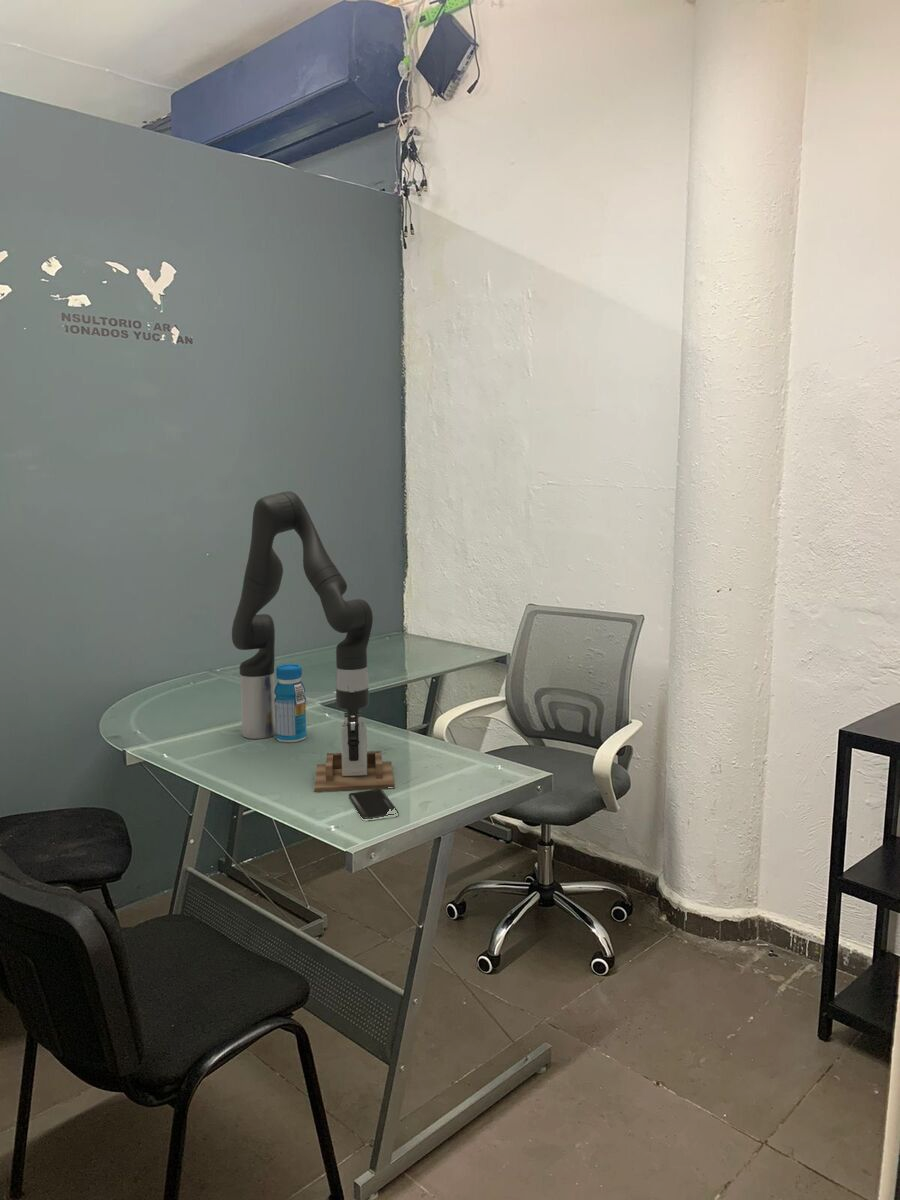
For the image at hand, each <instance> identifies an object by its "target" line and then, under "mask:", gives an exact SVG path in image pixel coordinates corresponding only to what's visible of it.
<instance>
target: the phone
mask: <svg viewBox="0 0 900 1200" xmlns="http://www.w3.org/2000/svg"><path fill="white" fill-rule="evenodd" d="M348 799H349V801H350V803H351V804H352V806H353V805H354V806H353V807H355V808H356V809H355V808H354V809H355V811H356V810H357V811H358V812H357V811H356V812H357V814H358V813H359V814H360V816H361V817H362V818H363V819H373V818H379V817H384V816H388V815H394V814H388V815H386V814H387V812H388V811H389V809H391V811H392V810H393V809H394V808H395V810H396V811H397V813H398V814H399V811H398V809H397V808H396V806H395V805H394V804H393V802H392V801H391V800H390V798H389V797H388V796H387V794H386V793H385V792H384V789H371V790H361V791H356V792H350V793H348ZM359 814H358V815H359ZM395 814H396V813H395ZM360 816H359V817H360ZM361 817H360V818H361Z"/></svg>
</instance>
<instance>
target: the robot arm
mask: <svg viewBox="0 0 900 1200" xmlns="http://www.w3.org/2000/svg"><path fill="white" fill-rule="evenodd" d="M251 526H252V527H251V538H250V539H251V540H250V545H249V552H248V559H247V563H246V566H245V570H244V571H245V572H244V577H243V583H242V588H241V595H240V600H239V603H238V606H237V610H236V611H235V615H234V619H233V621H232V626H231V627H232V628H231V641H232V644H233V646H234V647H235V648H236V649H237V650H241V651H247V650H248V651H249V650H250V651H251V650H258V651H257V652H256V653H255V654H254V655H253V656H252V657H250V658H248V659H246V660H244V661H242V662H241V663H240V664H239V682H240V683H239V686H240V687H239V688H240V704H241V705H240V708H241V709H240V710H241V729H242V733H241V735H242V736H243V738H246V739H251V740H253V739H254V740H255V739H256V740H257V739H267V738H270V737H271V738H272V737H273V736H276V720H275V705H274V699H275V697H276V695H275V693H274V690H275V687H276V680H275V640H276V636H275V635H276V633H275V632H276V631H275V630H276V628H275V623H274V619H273V618H272V616H271V615H270V614H267V613H264V614H262V613H261V614H257V613H259V612H260V611H261V610H262V609H263V608H264V607H266V606H267V605H268V604H269V603H270V602H271V601H272V600H273V599H274V598H275V596H276V595H277V594H278V592H279V590H280V587H281V585H282V584H281V583H282V579H283V574H284V567H283V563H282V561H281V559H280V557H279V556H278V555H277V553H276V552H275V550H274V548H273V545H274V544H273V543H274V540H275V537H276V536H277V535H279V534H282V533H285V532H288V531H292V530H294V531H295V532H296V534H297V535H298V537H299V538H300V541H301V544H302V554H303V555H302V565H303V567H302V568H303V570H304V575H305V577H306V578H307V581H308V582H309V584H310V585H311V586H312V588H313V590H314V591H315V592H316V594H317V595H318V596H319V600H320V602H321V606H322V608H323V612H324V616H325V618H326V620H327V623H328V625H329V626H330V627H331V628H332V629H333V630H334V631H336V632H337V633H340V634H345V633H346V636H345V638H344V639H343V640H342V641H340V642H339V643H338V644H337V646H336V648H335V649H336V650H335V655H336V657H335V659H336V661H335V663H336V671H335V700H336V701H335V704H336V706H337V707H338V708H340V709H343V710H347V712H344V716H343V717H344V721H343V722H345V723H346V735H348V742H347V744H348V746H349V760H350V761H358V759H359V753H358V745H359V735H360V734H361V725H360V723H361V722H362V711H359V710H360V709H365V708H366V707H368V706H369V704H370V699H369V698H370V696H369V695H370V691H369V673H368V672H369V671H368V653H367V648H368V644H369V641H370V637H371V634H372V633H371V632H372V626H373V621H374V618H373V617H374V616H373V610H372V608H371V606H370V604H369V603H368V602H367V601H366V600H365V599H361V598H356V599H351V600H345V599H344V598H343V597H344V596H343V595H345V593H346V591H347V589H348V585H347V582H346V580H345V578H344V577H343V575H342V574H341V572H340V570H339V569H338V568H337V567H336V565H335V563H334V562H333V560H332V559H331V557H330V555H329V554H328V552H327V550H326V549H325V547H324V544H323V542H322V540H321V537H320V536H319V533H318V531H317V528H316V527H315V524H314V523H313V520H312V518H311V515H310V514H309V512H308V510H307V508H306V506H305V504H304V502H303V500H302V499H301V498H300V496H299V495H297V494H296V493H295V492H293V491H291V490H290V491H288V490H287V491H282V492H277V493H273V494H270V495H266V496H263V497H260V498H259V499H257V501H256V502H255V504H254V508H253V514H252V523H251ZM350 737H356V738H357V740H350Z"/></svg>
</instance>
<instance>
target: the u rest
mask: <svg viewBox="0 0 900 1200" xmlns="http://www.w3.org/2000/svg"><path fill="white" fill-rule="evenodd" d="M325 759H326V760H325V763H320V764H319V763H318V764H316V772H315V778H314V787H313V788H314V789H313V791H314V793H321V792H323V793H326V792H345V791H349V792H350V791H368V790H367V789H371V790H380V789H379V788H388V787H394V788H395V781H394V779H395V778H394V771H393V764H392V761H391V760H389V761H387V760H386V761H383V757H382V750H376V751H375V750H374V751H367V775H361V776H342V752H329V753H328V752H326V758H325Z"/></svg>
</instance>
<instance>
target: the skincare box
mask: <svg viewBox="0 0 900 1200" xmlns="http://www.w3.org/2000/svg"><path fill="white" fill-rule="evenodd" d="M340 724H341V725H340V736H341V740H340V741H341V746H340V747H341V748H340V749H341V753H342V776H361V775H367V752H368V738H367V736H368V735H367V731H368V730H367V728H368V727H367V721H361V723H360V725H361V734H360V735H359V745H358V753H359V759H358V761H350V760H349V746H348V744H347V742H348V735H346V723H345V721H343V722H340ZM350 740H357V738H356V737H350Z"/></svg>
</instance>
